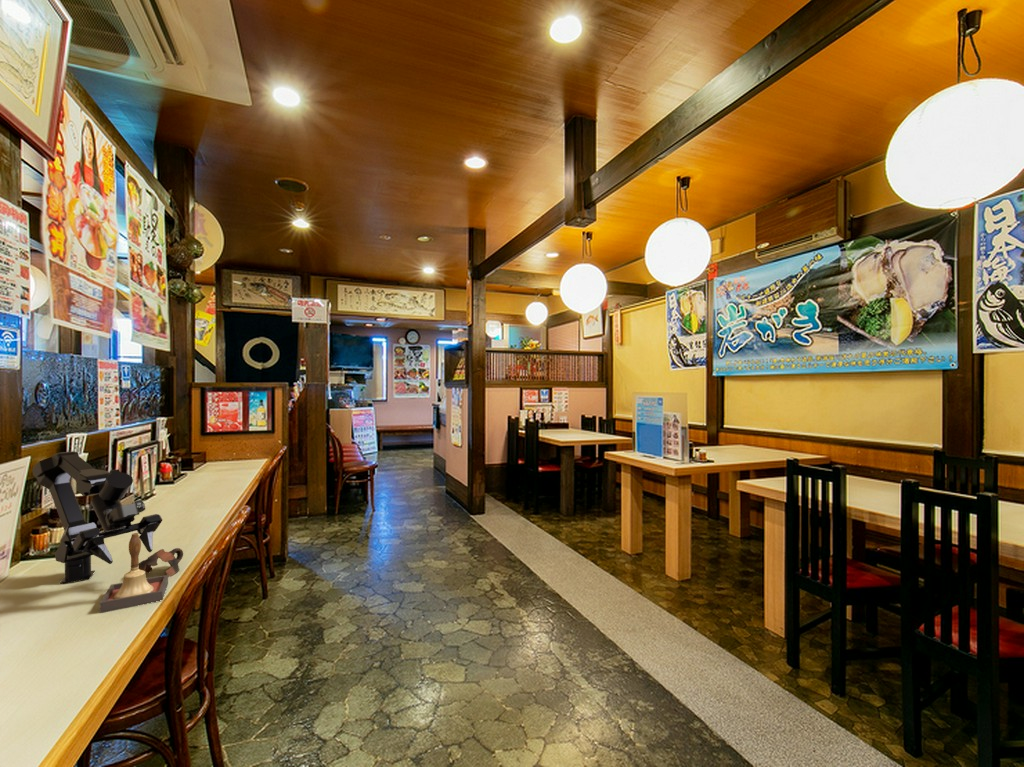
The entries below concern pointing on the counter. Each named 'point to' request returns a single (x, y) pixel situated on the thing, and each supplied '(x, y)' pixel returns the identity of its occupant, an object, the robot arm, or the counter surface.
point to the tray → (114, 604)
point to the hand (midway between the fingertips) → (131, 556)
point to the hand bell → (134, 573)
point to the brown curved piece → (165, 557)
